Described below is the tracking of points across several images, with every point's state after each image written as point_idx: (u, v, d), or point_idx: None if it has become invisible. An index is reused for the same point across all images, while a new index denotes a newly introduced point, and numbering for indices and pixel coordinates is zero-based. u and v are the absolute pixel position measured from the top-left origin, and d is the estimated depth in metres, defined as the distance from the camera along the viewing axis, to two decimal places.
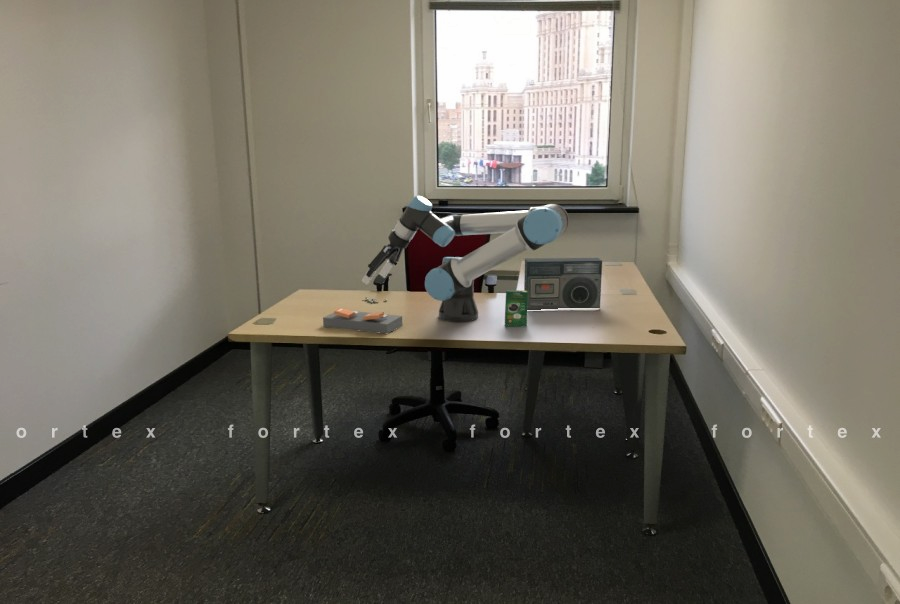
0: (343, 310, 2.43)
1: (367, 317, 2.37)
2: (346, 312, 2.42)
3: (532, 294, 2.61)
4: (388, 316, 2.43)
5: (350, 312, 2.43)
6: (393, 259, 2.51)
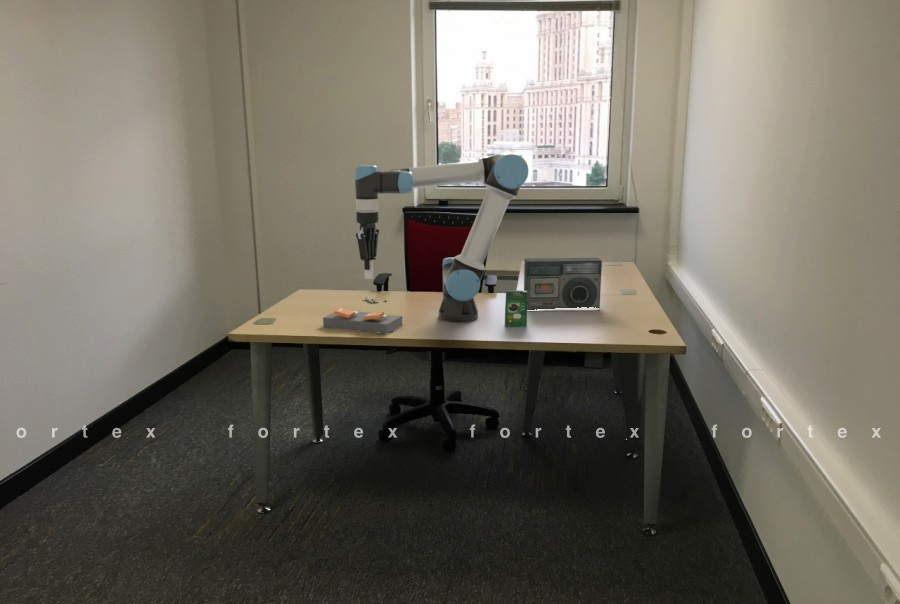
0: (343, 310, 2.43)
1: (367, 317, 2.37)
2: (346, 312, 2.42)
3: (531, 293, 2.62)
4: (388, 316, 2.43)
5: (350, 312, 2.43)
6: (371, 250, 2.34)
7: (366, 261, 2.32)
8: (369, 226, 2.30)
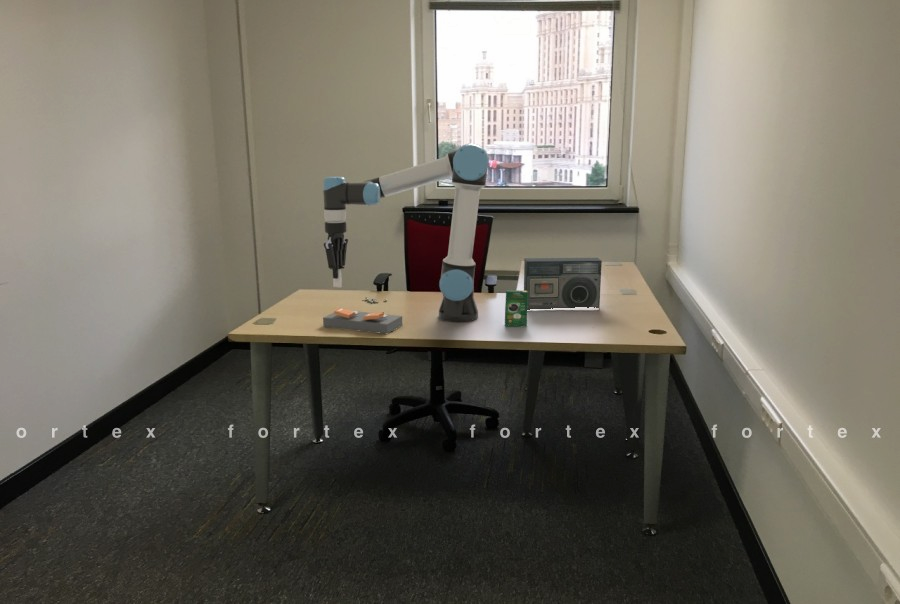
0: (343, 310, 2.43)
1: (367, 317, 2.37)
2: (346, 312, 2.42)
3: (531, 293, 2.62)
4: (388, 316, 2.43)
5: (350, 312, 2.43)
6: (339, 259, 2.39)
7: (334, 270, 2.38)
8: (337, 236, 2.36)
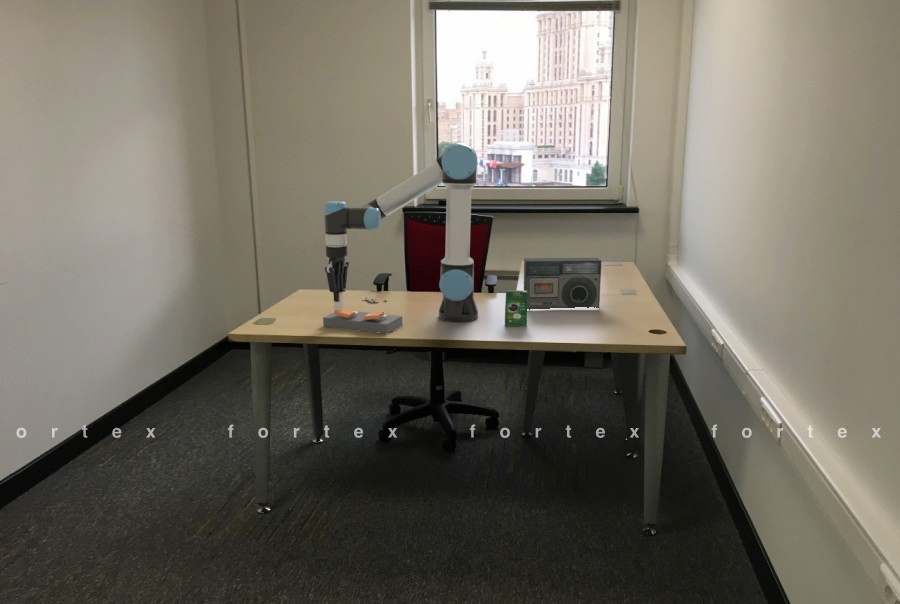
0: (343, 310, 2.43)
1: (367, 317, 2.37)
2: (346, 312, 2.42)
3: (531, 293, 2.62)
4: (388, 316, 2.43)
5: (350, 312, 2.43)
6: (340, 282, 2.41)
7: (335, 293, 2.40)
8: (338, 260, 2.38)
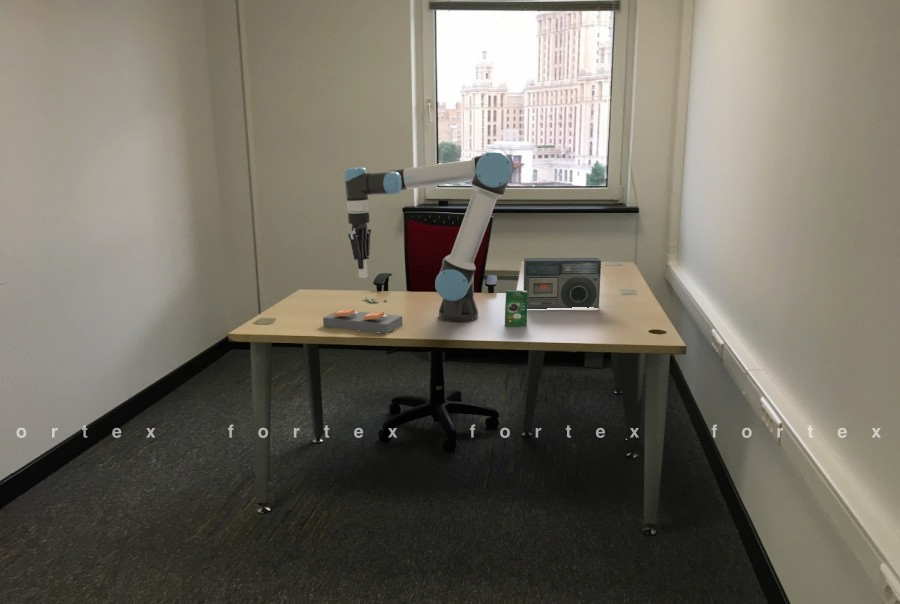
0: (343, 311, 2.44)
1: (367, 317, 2.37)
2: (346, 311, 2.42)
3: (530, 293, 2.63)
4: (388, 316, 2.43)
5: (349, 310, 2.42)
6: (363, 249, 2.41)
7: (359, 260, 2.40)
8: (361, 226, 2.38)
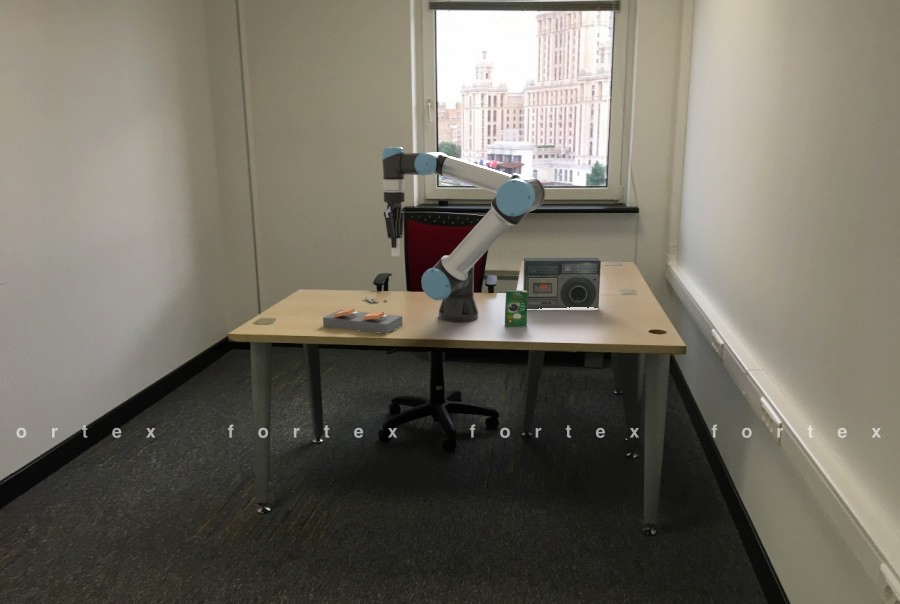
0: (342, 311, 2.44)
1: (367, 317, 2.37)
2: (345, 311, 2.42)
3: (530, 293, 2.63)
4: (388, 316, 2.43)
5: (349, 309, 2.42)
6: (397, 228, 2.44)
7: (393, 239, 2.43)
8: (396, 205, 2.41)
